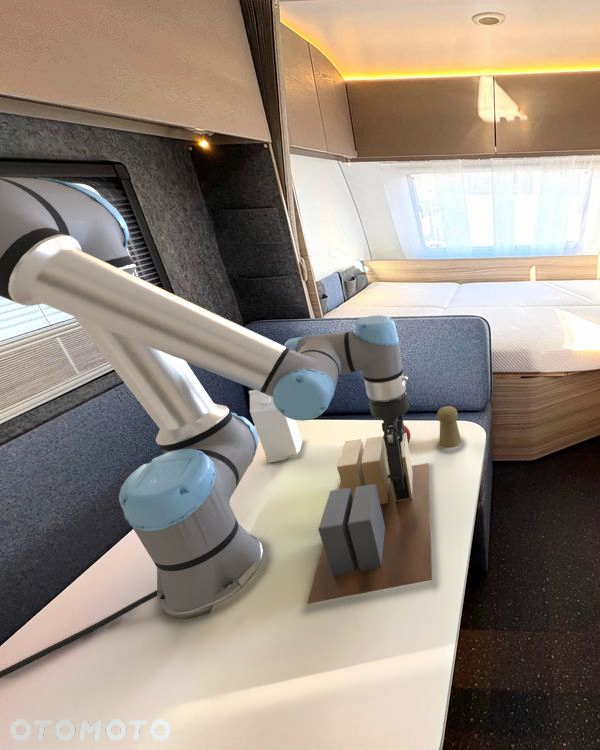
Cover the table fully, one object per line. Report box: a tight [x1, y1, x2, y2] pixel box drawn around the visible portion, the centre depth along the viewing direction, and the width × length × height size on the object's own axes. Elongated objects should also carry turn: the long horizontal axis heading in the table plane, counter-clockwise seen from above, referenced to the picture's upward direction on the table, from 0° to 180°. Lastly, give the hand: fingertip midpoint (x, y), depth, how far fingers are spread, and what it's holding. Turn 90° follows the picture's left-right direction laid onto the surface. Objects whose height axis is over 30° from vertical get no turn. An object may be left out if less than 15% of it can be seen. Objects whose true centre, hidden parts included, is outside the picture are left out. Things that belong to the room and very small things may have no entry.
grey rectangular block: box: [348, 484, 385, 571], centre depth 69 cm, size 4×9×11 cm, turn 11°
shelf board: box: [307, 463, 433, 605], centre depth 78 cm, size 20×32×1 cm, turn 11°
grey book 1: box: [317, 488, 357, 576], centre depth 68 cm, size 4×9×11 cm, turn 11°
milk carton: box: [248, 389, 303, 464], centre depth 98 cm, size 7×7×19 cm
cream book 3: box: [387, 433, 413, 501], centre depth 84 cm, size 4×9×11 cm, turn 11°
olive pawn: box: [436, 405, 462, 449], centre depth 100 cm, size 6×6×11 cm
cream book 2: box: [361, 435, 390, 504], centre depth 83 cm, size 4×9×11 cm, turn 11°
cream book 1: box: [336, 438, 366, 499], centre depth 83 cm, size 4×9×11 cm, turn 11°
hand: (404, 482), depth 86 cm, fingers closed on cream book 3, 9 cm apart
